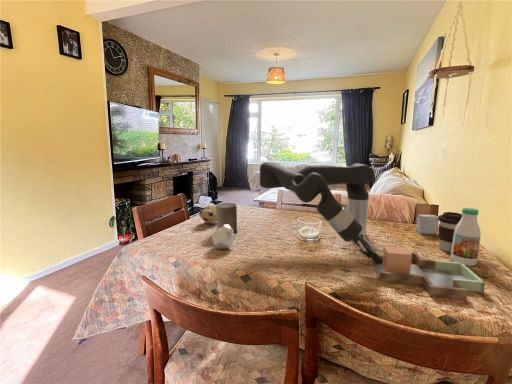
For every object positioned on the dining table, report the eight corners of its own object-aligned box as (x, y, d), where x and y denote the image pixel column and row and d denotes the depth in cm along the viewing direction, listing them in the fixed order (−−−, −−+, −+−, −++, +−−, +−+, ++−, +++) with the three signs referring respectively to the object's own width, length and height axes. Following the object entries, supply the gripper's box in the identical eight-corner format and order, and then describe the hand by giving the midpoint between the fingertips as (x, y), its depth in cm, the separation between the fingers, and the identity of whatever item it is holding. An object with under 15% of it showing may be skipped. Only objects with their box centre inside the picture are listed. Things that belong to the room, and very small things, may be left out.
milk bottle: (445, 258, 106) (452, 206, 103) (464, 257, 107) (471, 206, 103) (461, 266, 99) (469, 211, 95) (482, 266, 99) (490, 211, 96)
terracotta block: (385, 276, 91) (387, 252, 89) (381, 268, 96) (383, 246, 95) (409, 278, 89) (412, 254, 88) (404, 270, 95) (406, 247, 93)
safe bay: (452, 290, 83) (453, 279, 82) (434, 269, 96) (435, 260, 96) (483, 293, 81) (485, 282, 81) (460, 272, 95) (461, 262, 94)
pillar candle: (240, 231, 138) (240, 201, 135) (230, 237, 129) (230, 205, 126) (223, 228, 142) (222, 199, 139) (213, 234, 133) (211, 203, 130)
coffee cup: (459, 246, 118) (463, 212, 115) (467, 255, 108) (473, 218, 106) (431, 243, 121) (436, 210, 118) (438, 252, 112) (442, 215, 109)
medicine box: (432, 231, 137) (434, 214, 136) (437, 234, 133) (439, 217, 131) (415, 231, 138) (417, 214, 136) (419, 234, 133) (421, 216, 132)
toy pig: (196, 225, 146) (195, 206, 144) (208, 220, 157) (207, 201, 155) (212, 228, 142) (212, 207, 140) (223, 221, 153) (223, 202, 152)
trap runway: (383, 292, 82) (384, 281, 81) (369, 257, 107) (369, 248, 106) (495, 305, 75) (497, 293, 75) (452, 264, 100) (453, 255, 100)
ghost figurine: (235, 251, 112) (235, 227, 110) (211, 252, 111) (211, 228, 109) (235, 243, 121) (235, 221, 119) (213, 244, 120) (212, 221, 118)
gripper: (334, 225, 100) (368, 261, 100) (336, 237, 88) (374, 278, 87) (351, 211, 98) (385, 248, 98) (355, 222, 86) (394, 264, 85)
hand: (380, 262), depth 92 cm, fingers closed
